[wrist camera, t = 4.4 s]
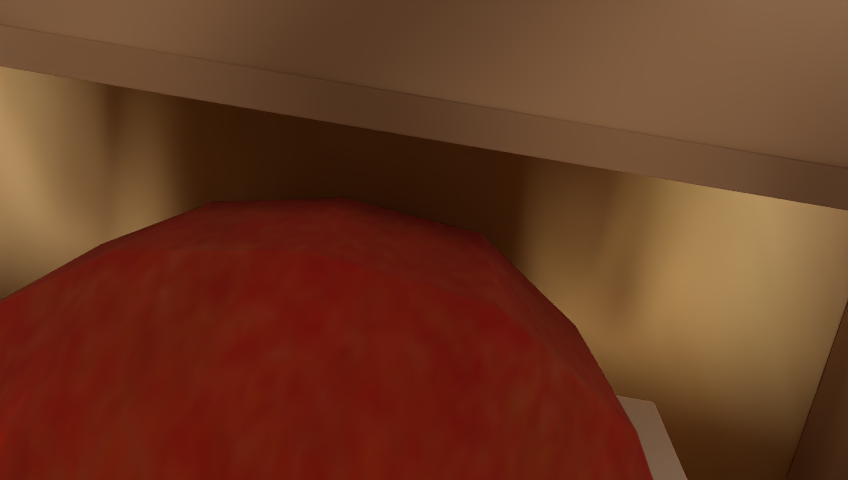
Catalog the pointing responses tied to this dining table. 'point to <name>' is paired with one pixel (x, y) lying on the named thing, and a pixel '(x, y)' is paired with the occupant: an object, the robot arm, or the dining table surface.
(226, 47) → the brown shallow open box
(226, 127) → the dining table surface
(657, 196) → the dining table surface
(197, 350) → the apple
